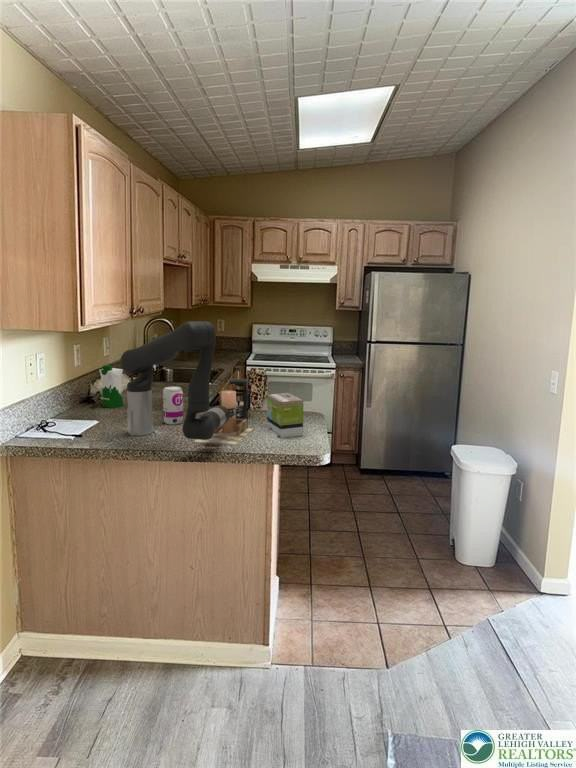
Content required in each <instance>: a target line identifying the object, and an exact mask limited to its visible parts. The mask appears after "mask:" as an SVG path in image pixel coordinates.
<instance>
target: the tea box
mask: <svg viewBox="0 0 576 768" xmlns="http://www.w3.org/2000/svg"><path fill="white" fill-rule="evenodd" d="M266 427H267V428H268V429H270V430H271V431H273V432H274V433H276V434H277V436H278V438H280V439H286V438H294V436H295V437H302V436H304V399H302V398H300V397H297V396H295V395H293V394H292V393H290V392H283V393H274V394H273V393H272V394H266ZM285 437H286V438H285Z"/></svg>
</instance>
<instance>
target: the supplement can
mask: <svg viewBox="0 0 576 768" xmlns="http://www.w3.org/2000/svg"><path fill="white" fill-rule="evenodd" d="M182 389H183V388H182V387H181V386H167V387H164V388H163V390H162V405H163V409H162V410H163V411H162V412H163V413H162V414H163V423H165V424H166V425H179V424H182V423H184V396H183V395H184V393H183V392H184V391H183V390H182Z"/></svg>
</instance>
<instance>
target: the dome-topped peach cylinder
mask: <svg viewBox="0 0 576 768" xmlns="http://www.w3.org/2000/svg"><path fill="white" fill-rule="evenodd" d="M232 390H233V389H229V390H228V389H227V390H222V391H221V405H222V406H224V407H225V408H237V407H236V402H237V396H236V393H237V392H236V391H232ZM231 411H232V410H231ZM235 413H236V410H235ZM222 432H223V433H235V432H236V416H235V417H230V418H229V420H228V422H227V423H225V424H224V425H223V426H222Z"/></svg>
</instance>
